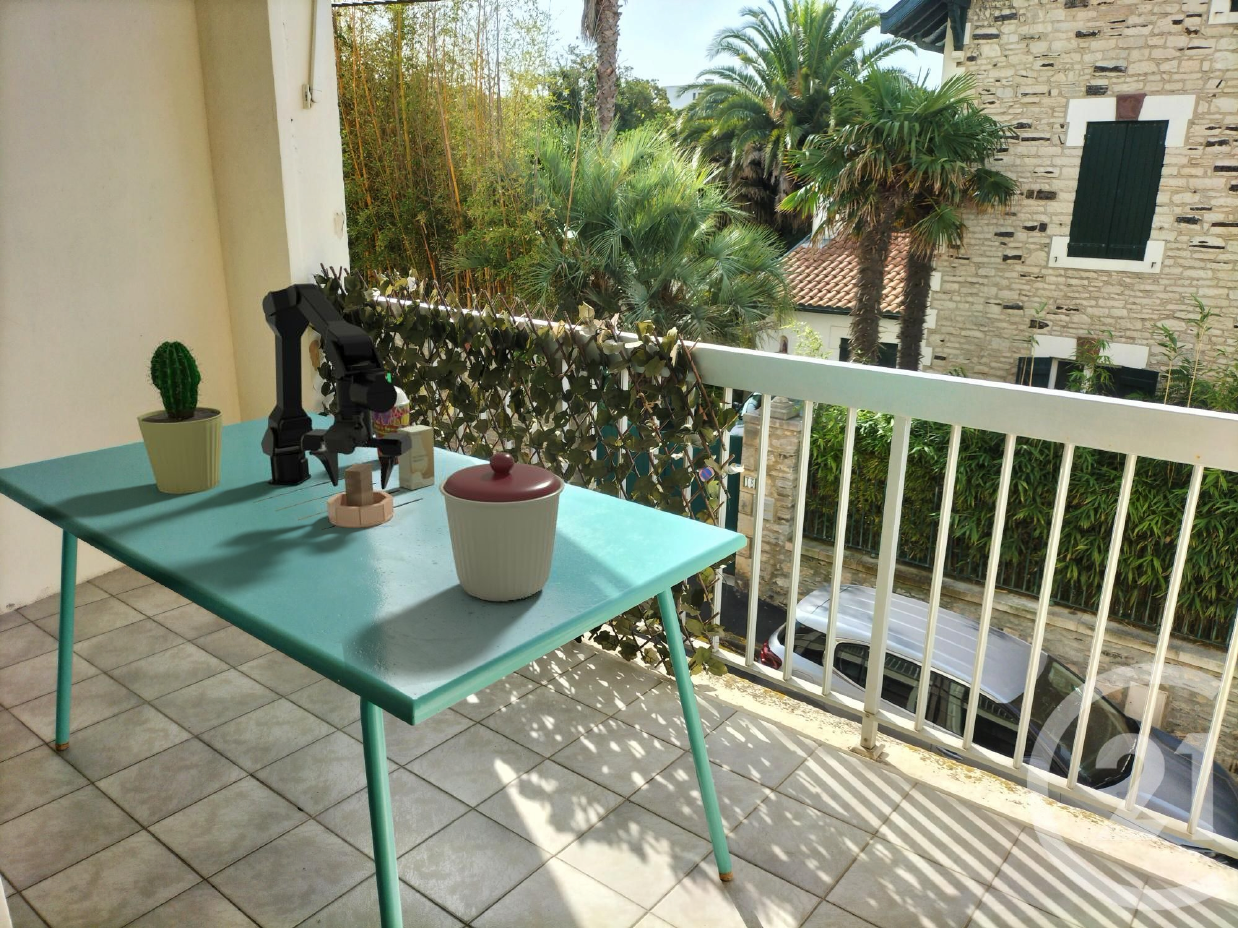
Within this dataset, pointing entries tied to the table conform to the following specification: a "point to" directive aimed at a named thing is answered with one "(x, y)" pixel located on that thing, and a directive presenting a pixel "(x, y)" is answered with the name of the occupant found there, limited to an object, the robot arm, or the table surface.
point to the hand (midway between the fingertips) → (359, 487)
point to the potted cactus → (181, 425)
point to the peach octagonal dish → (360, 511)
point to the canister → (502, 526)
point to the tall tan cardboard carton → (359, 485)
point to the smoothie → (392, 417)
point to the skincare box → (417, 458)
